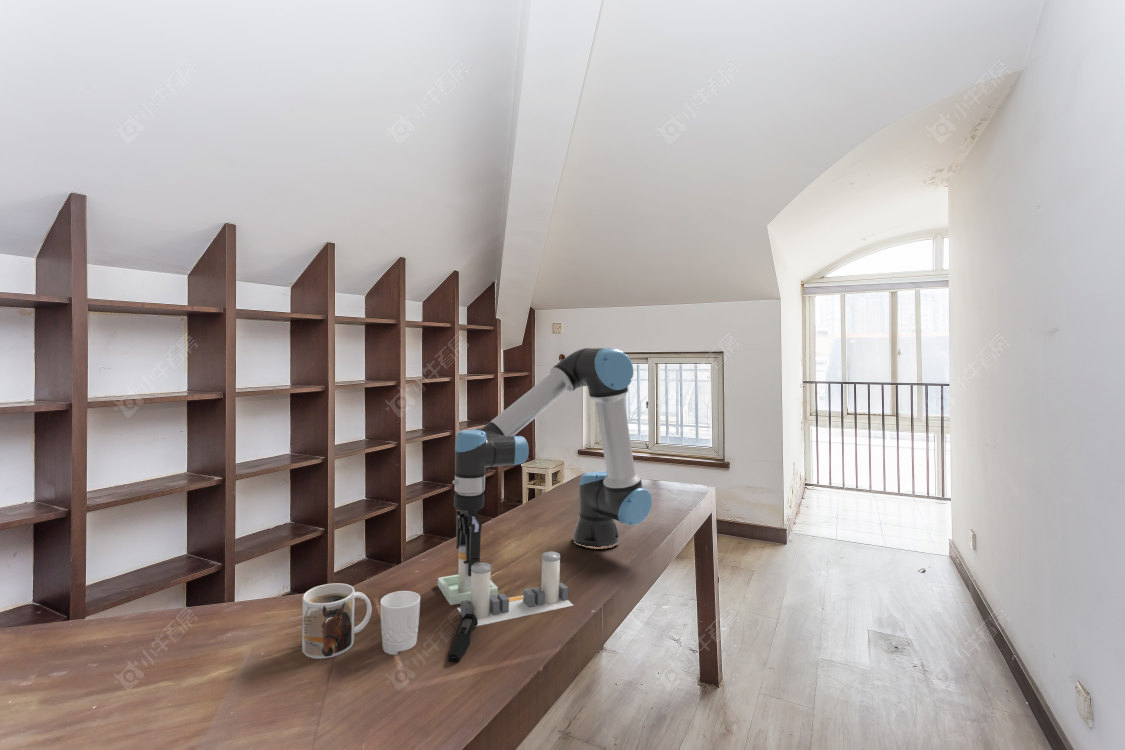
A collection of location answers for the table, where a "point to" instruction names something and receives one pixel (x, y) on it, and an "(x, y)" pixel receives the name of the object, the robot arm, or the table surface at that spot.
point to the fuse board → (518, 605)
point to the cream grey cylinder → (550, 577)
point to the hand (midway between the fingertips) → (466, 583)
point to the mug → (330, 620)
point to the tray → (451, 590)
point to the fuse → (480, 589)
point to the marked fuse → (462, 569)
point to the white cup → (399, 621)
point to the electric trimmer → (462, 637)
